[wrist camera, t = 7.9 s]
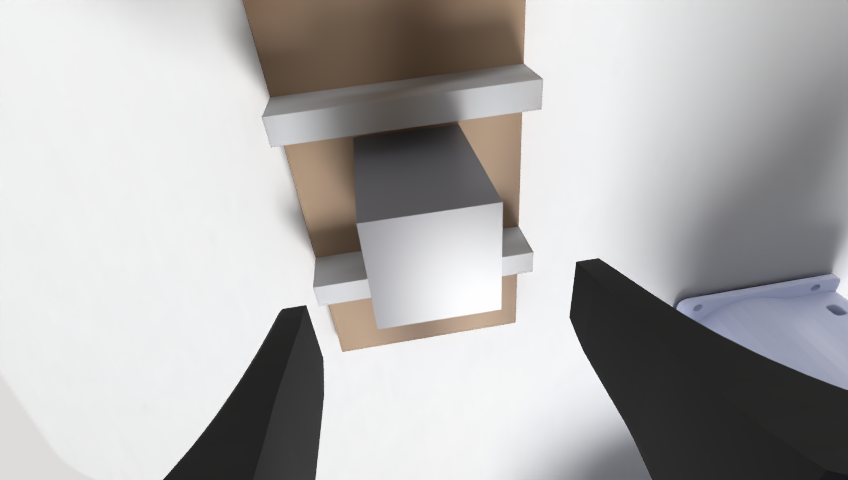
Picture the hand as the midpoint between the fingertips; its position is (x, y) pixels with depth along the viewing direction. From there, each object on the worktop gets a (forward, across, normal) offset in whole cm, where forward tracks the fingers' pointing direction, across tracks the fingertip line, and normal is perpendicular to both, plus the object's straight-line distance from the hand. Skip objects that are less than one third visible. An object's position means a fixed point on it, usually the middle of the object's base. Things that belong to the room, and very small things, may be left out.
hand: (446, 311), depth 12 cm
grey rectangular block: (+8, 0, 0) cm, 8 cm away
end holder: (+8, 0, 0) cm, 8 cm away
